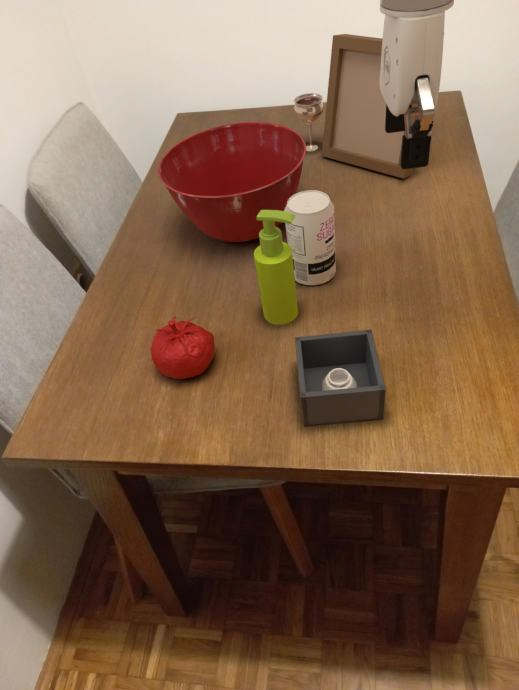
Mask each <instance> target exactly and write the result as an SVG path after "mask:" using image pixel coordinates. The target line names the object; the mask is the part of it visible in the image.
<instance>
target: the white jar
mask: <svg viewBox="0 0 519 690" xmlns="http://www.w3.org/2000/svg"><path fill="white" fill-rule="evenodd" d="M347 388H357V383H356V381H355V379H354V378H353V377H352V376H351V374H349V373H348V371H346V370H345V369H342V368H336V369H333V370H332V371H330V372H329V374H328V375H327V376H326V377H325V379H324V380H323V382H322V391H325V390H336V389H347Z"/></svg>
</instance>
